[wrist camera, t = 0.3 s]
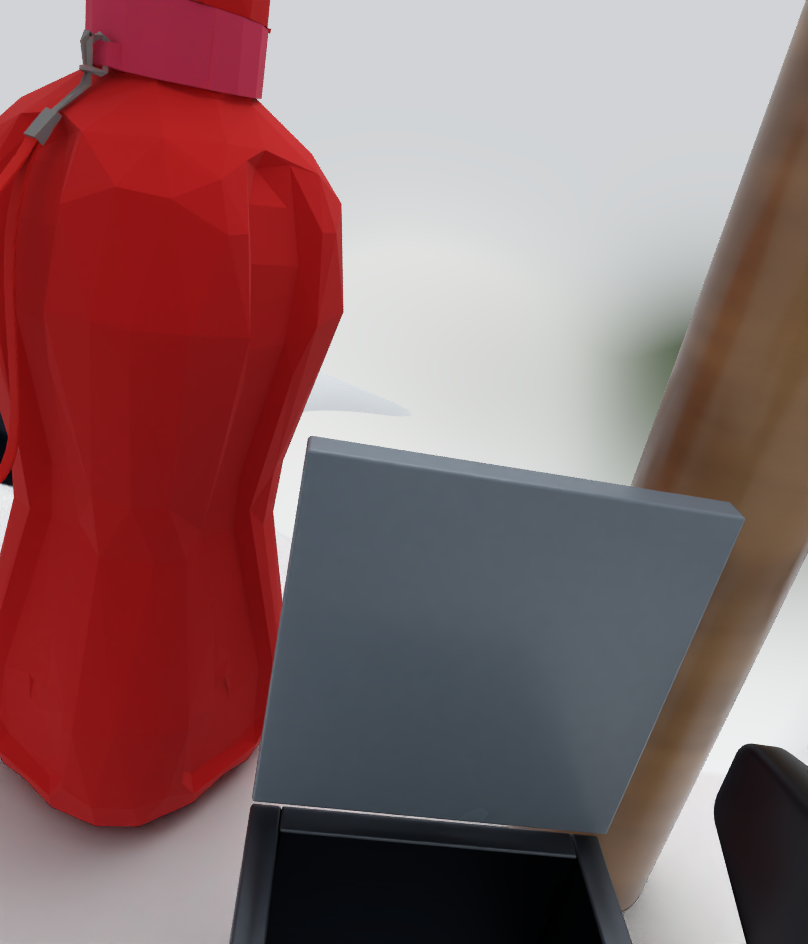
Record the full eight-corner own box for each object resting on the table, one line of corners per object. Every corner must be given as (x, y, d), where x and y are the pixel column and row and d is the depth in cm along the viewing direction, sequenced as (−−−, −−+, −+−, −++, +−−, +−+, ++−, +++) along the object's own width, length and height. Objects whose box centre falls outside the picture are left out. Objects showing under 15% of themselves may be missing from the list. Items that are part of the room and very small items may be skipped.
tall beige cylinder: (683, 937, 26) (1296, -184, 13) (510, 924, 25) (984, -283, 12) (626, 791, 31) (1021, -101, 18) (483, 777, 30) (793, -167, 18)
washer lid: (748, 518, 17) (731, 500, 17) (306, 449, 15) (309, 433, 16) (607, 835, 21) (598, 811, 22) (251, 802, 20) (255, 777, 20)
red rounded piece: (-110, 754, 26) (-220, -158, 15) (151, 619, 35) (194, -20, 24) (62, 928, 22) (72, -140, 11) (307, 726, 31) (441, 17, 20)
